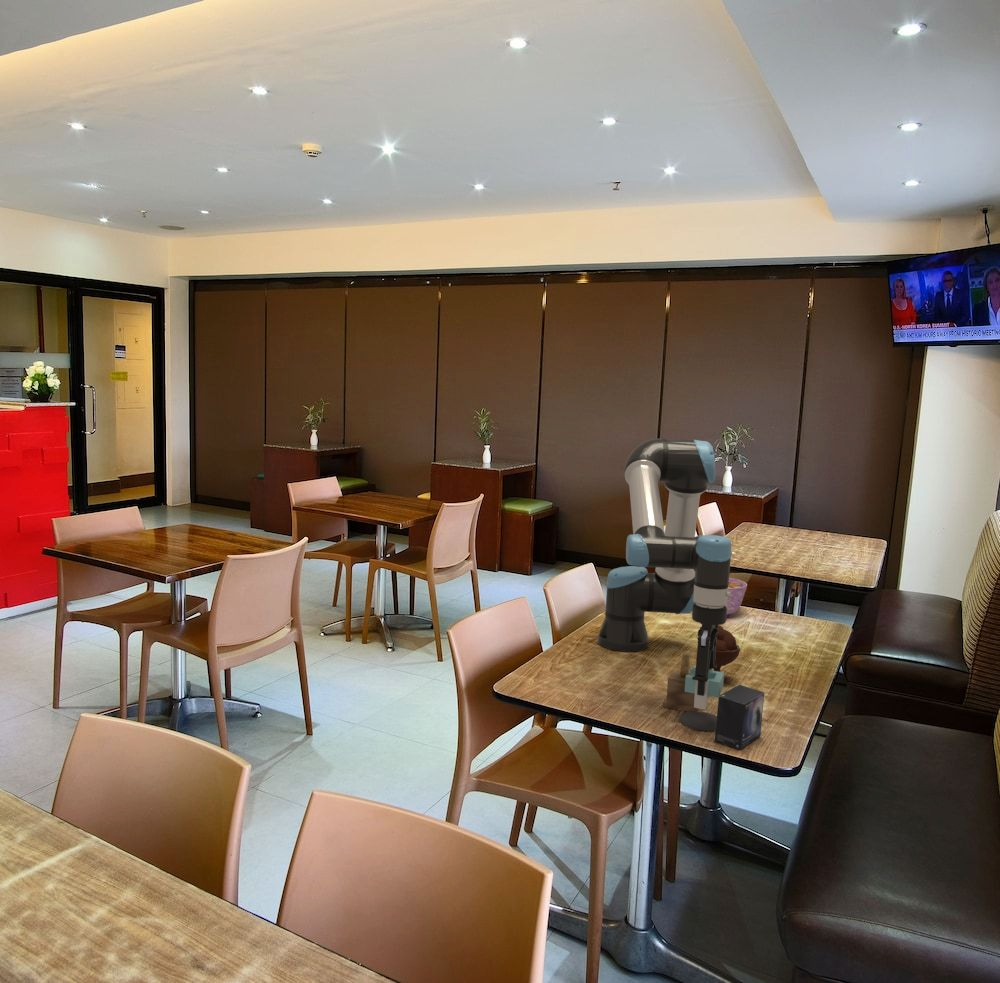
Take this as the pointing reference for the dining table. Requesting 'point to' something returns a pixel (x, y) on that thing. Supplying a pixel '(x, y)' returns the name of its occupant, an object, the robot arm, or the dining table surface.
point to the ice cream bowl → (725, 649)
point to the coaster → (699, 720)
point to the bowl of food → (735, 594)
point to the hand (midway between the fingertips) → (703, 701)
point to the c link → (713, 685)
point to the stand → (679, 688)
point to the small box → (739, 716)
